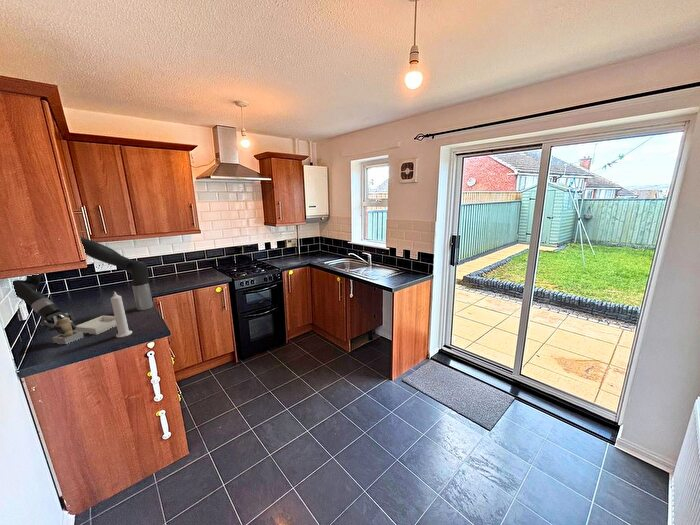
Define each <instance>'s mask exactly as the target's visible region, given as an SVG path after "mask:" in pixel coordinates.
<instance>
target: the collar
mask: <svg viewBox="0 0 700 525" xmlns="http://www.w3.org/2000/svg"><path fill="white" fill-rule="evenodd" d="M73 333H74V334H72V335H70V336H67V337H62V334H60V333H59V334H57V335H55V336H53V337H52V342H53V344H54V343H57V344H56V345H62V344H67V345H69V344H71V343H70V342H72V343H74V342H76V341H79V340H81V339H83V338H85V336H84V333H83V332H82V331H74V330H73ZM80 338H81V339H80ZM78 339H79V340H78ZM75 340H76V341H75ZM73 341H74V342H73ZM68 343H69V344H68Z"/></svg>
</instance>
